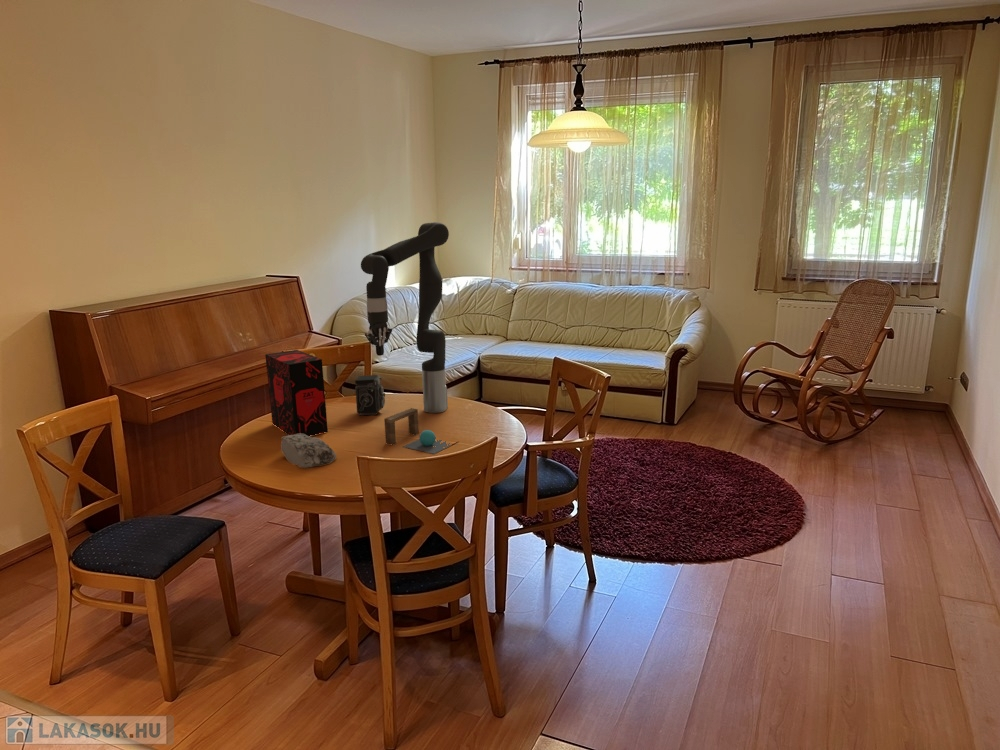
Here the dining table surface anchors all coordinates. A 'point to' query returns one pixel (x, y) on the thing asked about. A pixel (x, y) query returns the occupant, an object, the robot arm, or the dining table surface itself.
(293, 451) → the decorative stone
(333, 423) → the dining table surface
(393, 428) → the bridge
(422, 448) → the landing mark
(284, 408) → the box
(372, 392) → the camera
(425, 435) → the ball
